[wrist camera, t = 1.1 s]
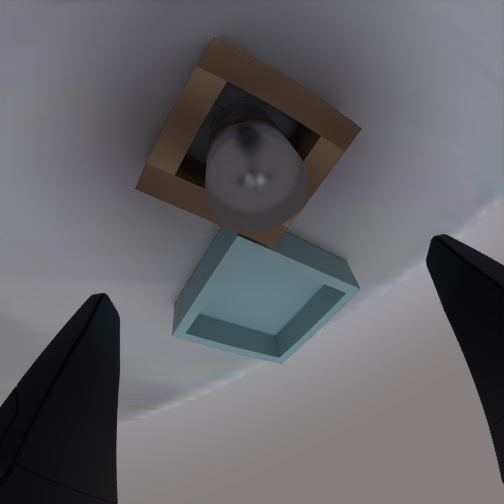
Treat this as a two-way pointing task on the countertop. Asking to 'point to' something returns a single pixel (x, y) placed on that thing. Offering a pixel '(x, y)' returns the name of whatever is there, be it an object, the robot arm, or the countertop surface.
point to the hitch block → (198, 106)
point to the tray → (261, 295)
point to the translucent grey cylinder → (252, 170)
